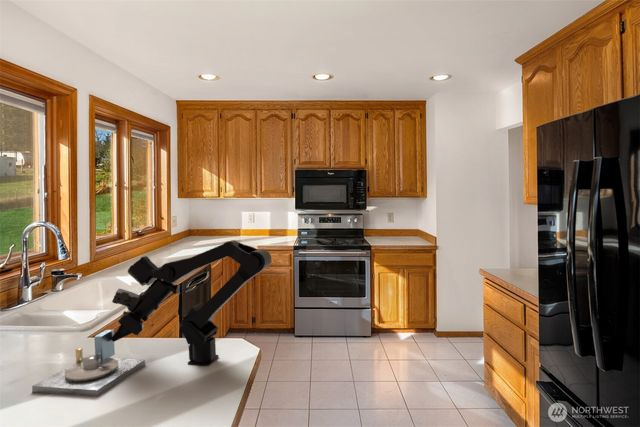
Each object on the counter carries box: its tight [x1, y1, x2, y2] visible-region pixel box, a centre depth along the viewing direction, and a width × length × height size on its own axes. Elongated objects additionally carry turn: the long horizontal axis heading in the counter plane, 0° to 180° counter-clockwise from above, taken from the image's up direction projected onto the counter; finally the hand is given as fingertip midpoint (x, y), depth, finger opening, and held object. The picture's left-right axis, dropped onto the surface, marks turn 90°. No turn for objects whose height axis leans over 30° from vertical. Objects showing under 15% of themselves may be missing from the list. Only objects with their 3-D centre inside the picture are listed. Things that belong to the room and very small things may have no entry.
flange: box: [65, 329, 118, 381], centre depth 105 cm, size 14×12×8 cm
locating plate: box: [31, 347, 146, 398], centre depth 103 cm, size 18×18×6 cm
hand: (112, 340), depth 111 cm, fingers closed
